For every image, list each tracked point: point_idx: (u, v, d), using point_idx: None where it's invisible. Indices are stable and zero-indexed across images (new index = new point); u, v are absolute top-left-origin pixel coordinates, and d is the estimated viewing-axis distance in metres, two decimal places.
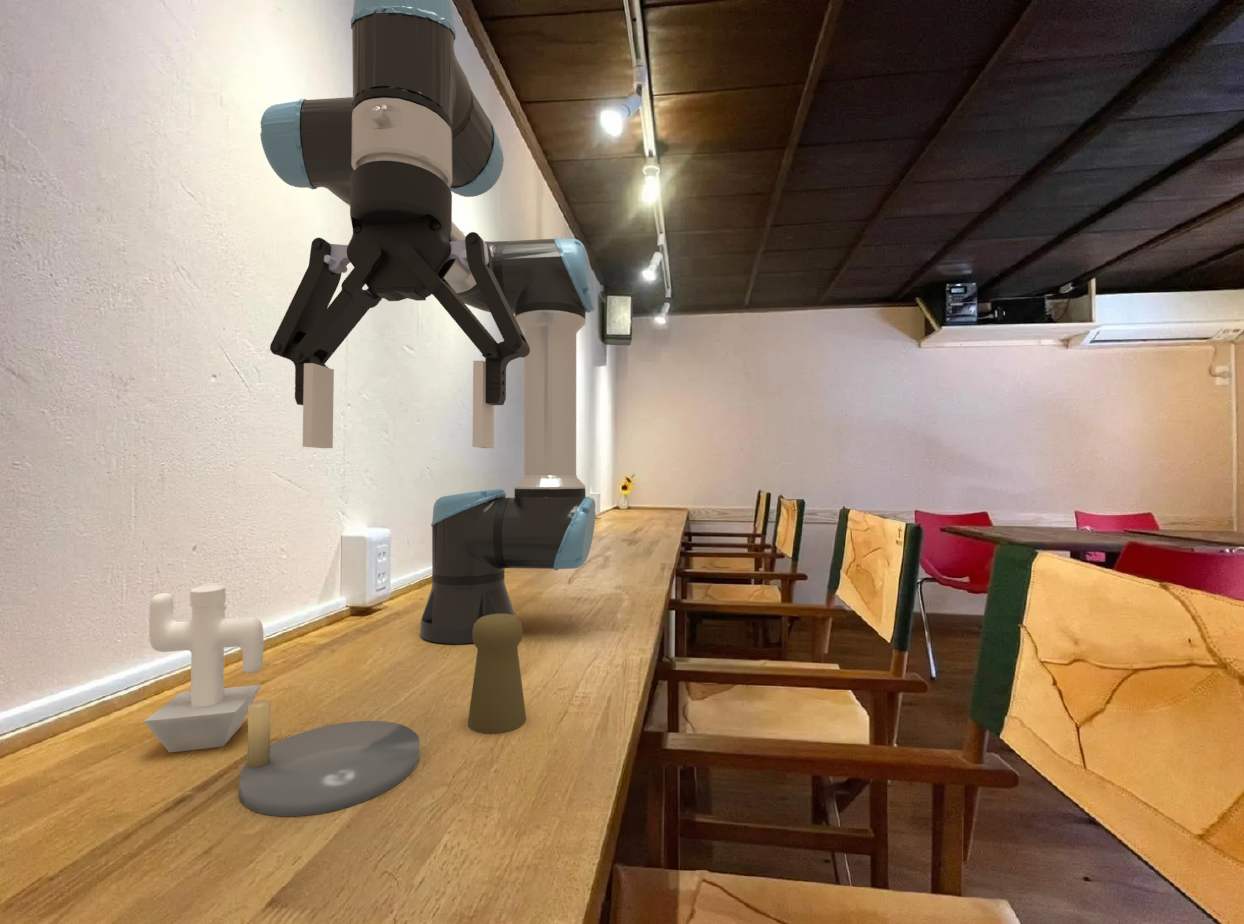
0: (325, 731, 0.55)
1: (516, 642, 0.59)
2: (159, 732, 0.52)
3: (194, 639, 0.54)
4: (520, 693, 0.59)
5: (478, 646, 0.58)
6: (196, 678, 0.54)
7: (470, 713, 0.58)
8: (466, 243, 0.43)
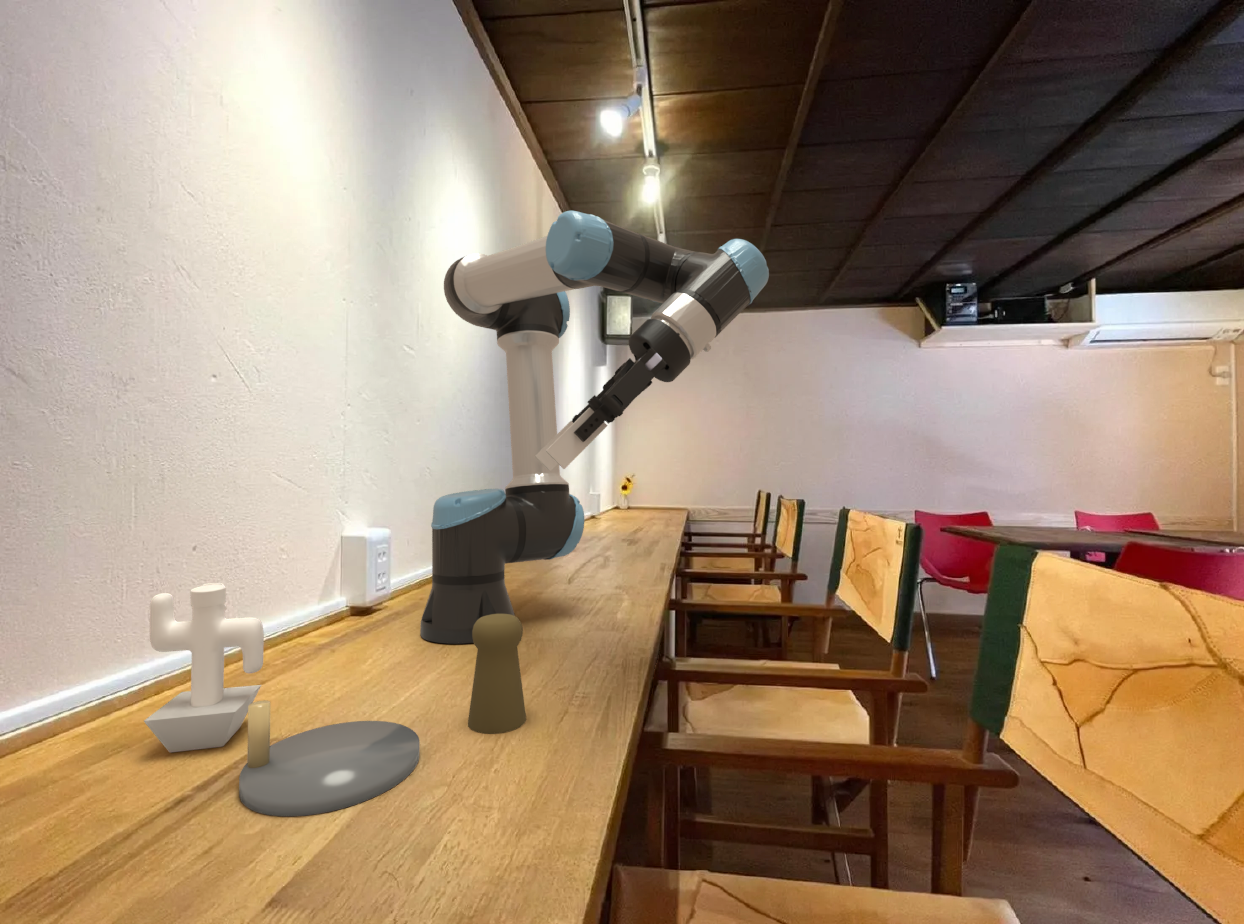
0: (325, 731, 0.55)
1: (516, 642, 0.59)
2: (159, 732, 0.52)
3: (194, 639, 0.54)
4: (520, 693, 0.59)
5: (478, 646, 0.58)
6: (196, 678, 0.54)
7: (470, 713, 0.58)
8: None
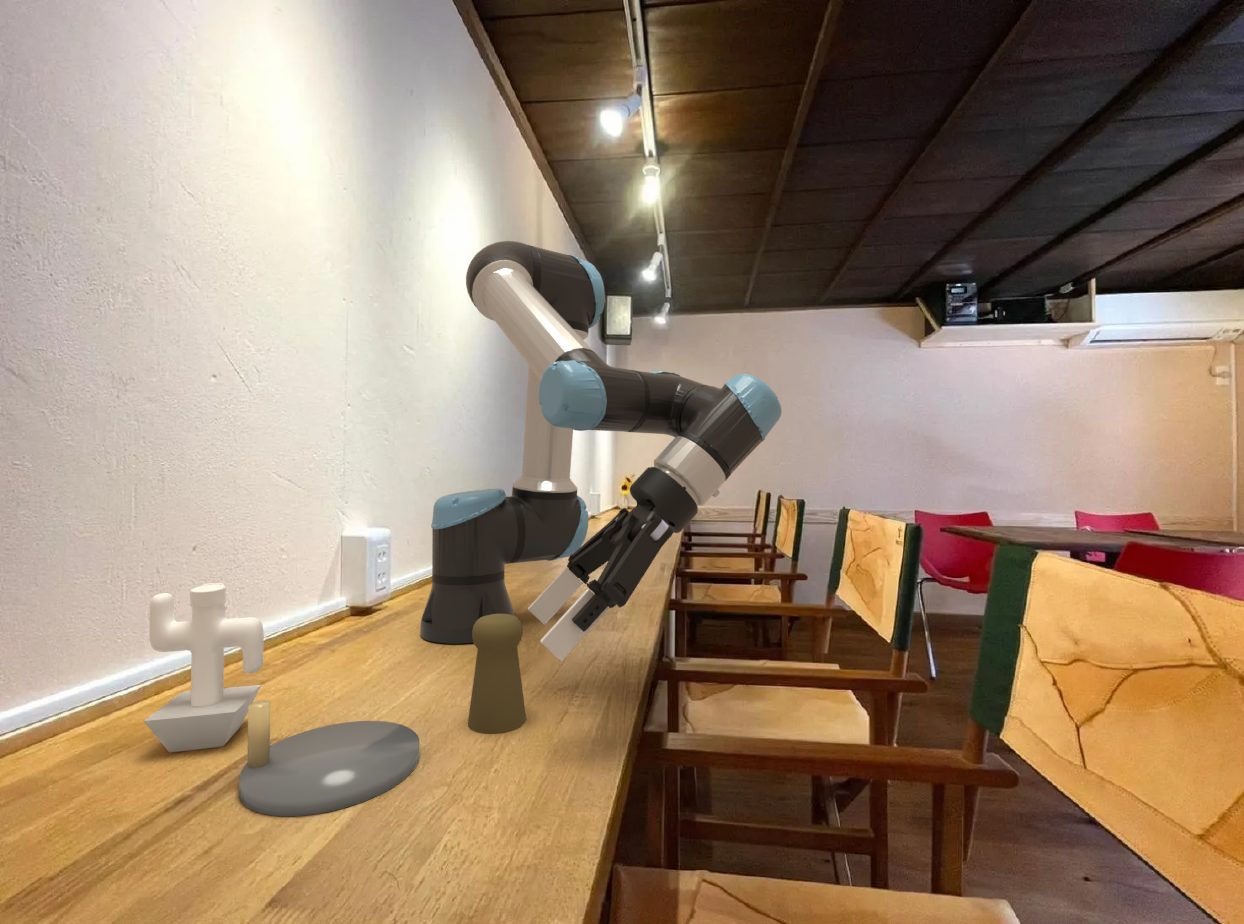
0: (325, 731, 0.55)
1: (516, 642, 0.59)
2: (159, 732, 0.52)
3: (194, 639, 0.54)
4: (520, 693, 0.59)
5: (478, 646, 0.58)
6: (196, 678, 0.54)
7: (470, 713, 0.58)
8: None
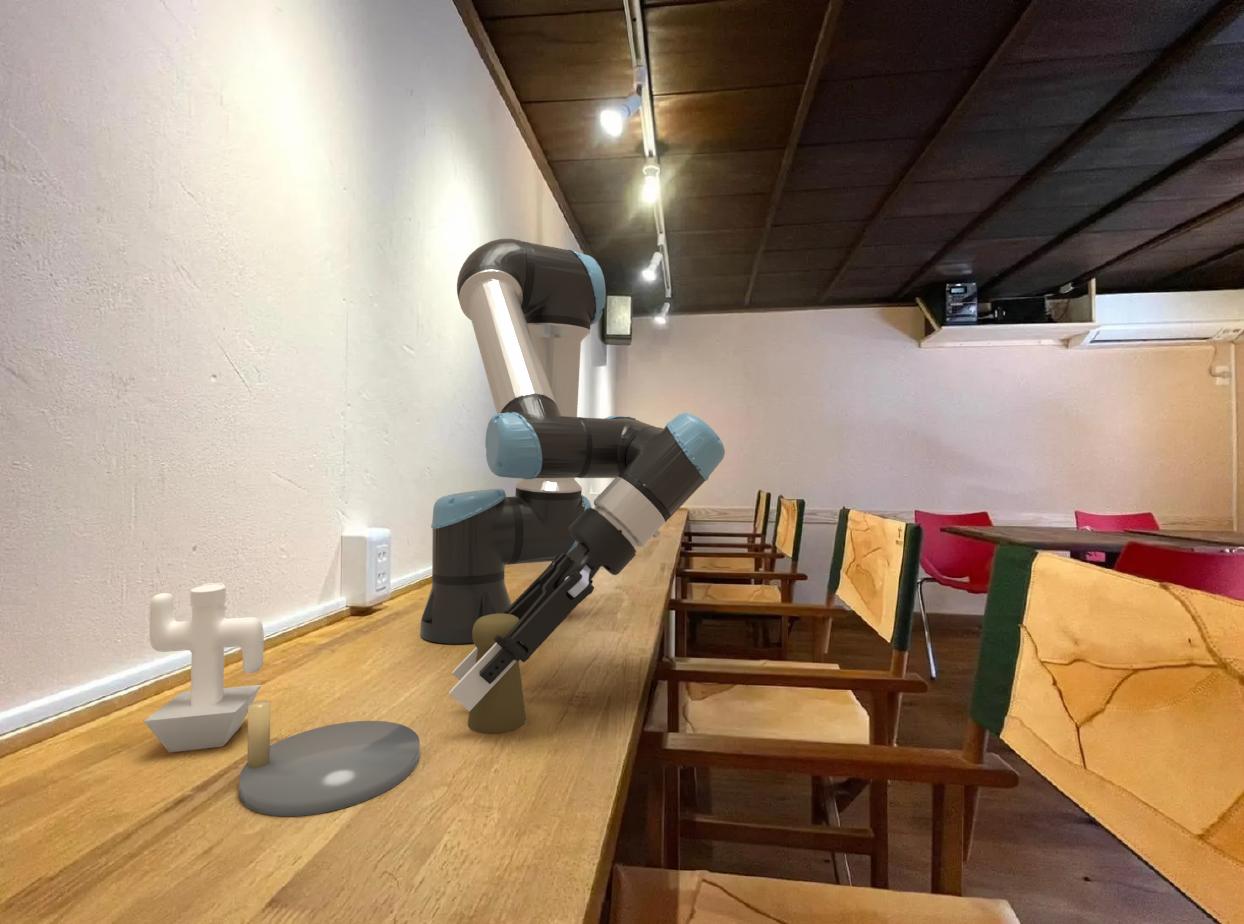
0: (325, 731, 0.55)
1: None
2: (159, 732, 0.52)
3: (194, 639, 0.54)
4: (520, 693, 0.59)
5: (478, 646, 0.58)
6: (196, 678, 0.54)
7: (470, 713, 0.58)
8: None
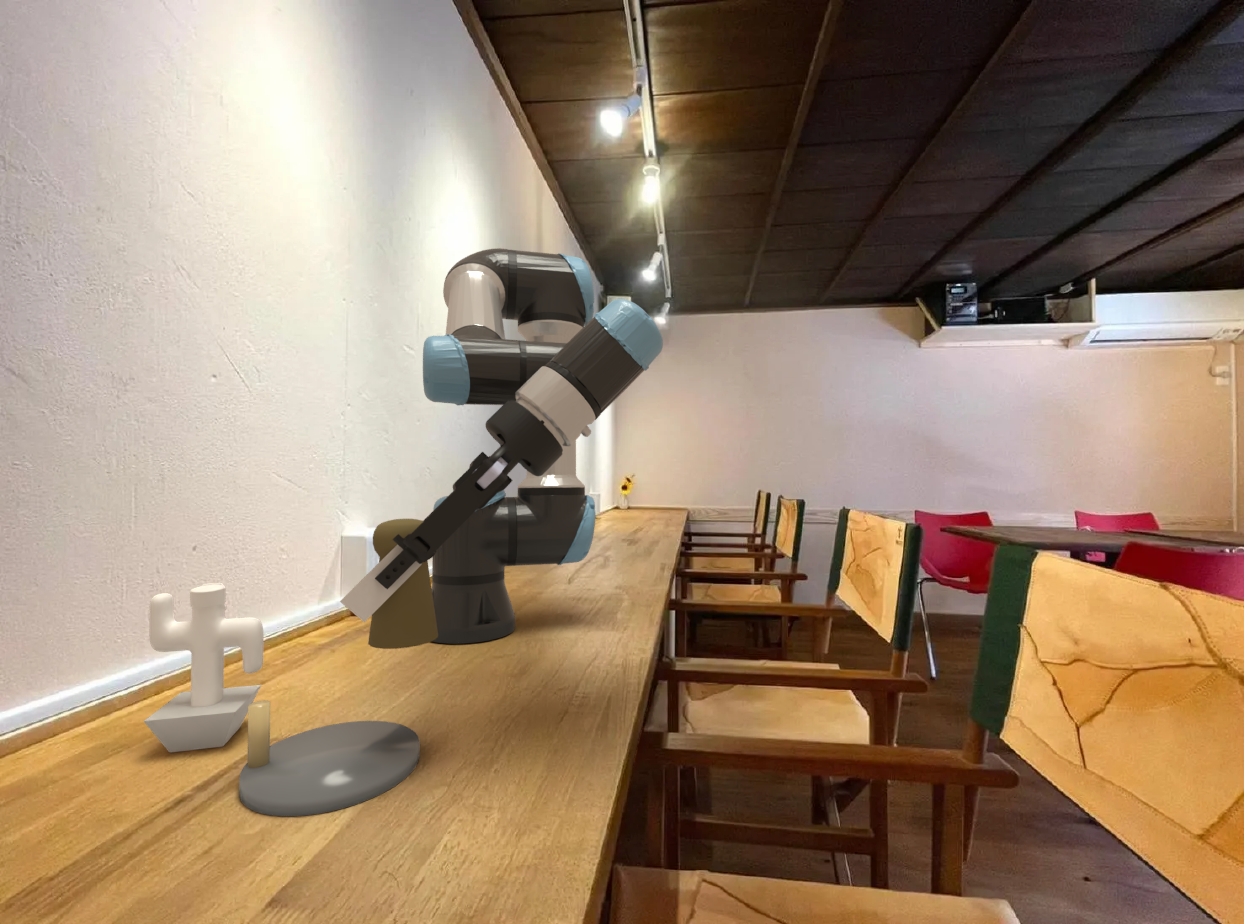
0: (325, 731, 0.55)
1: None
2: (159, 732, 0.52)
3: (194, 639, 0.54)
4: (429, 606, 0.52)
5: (378, 551, 0.51)
6: (196, 678, 0.54)
7: (370, 628, 0.51)
8: None
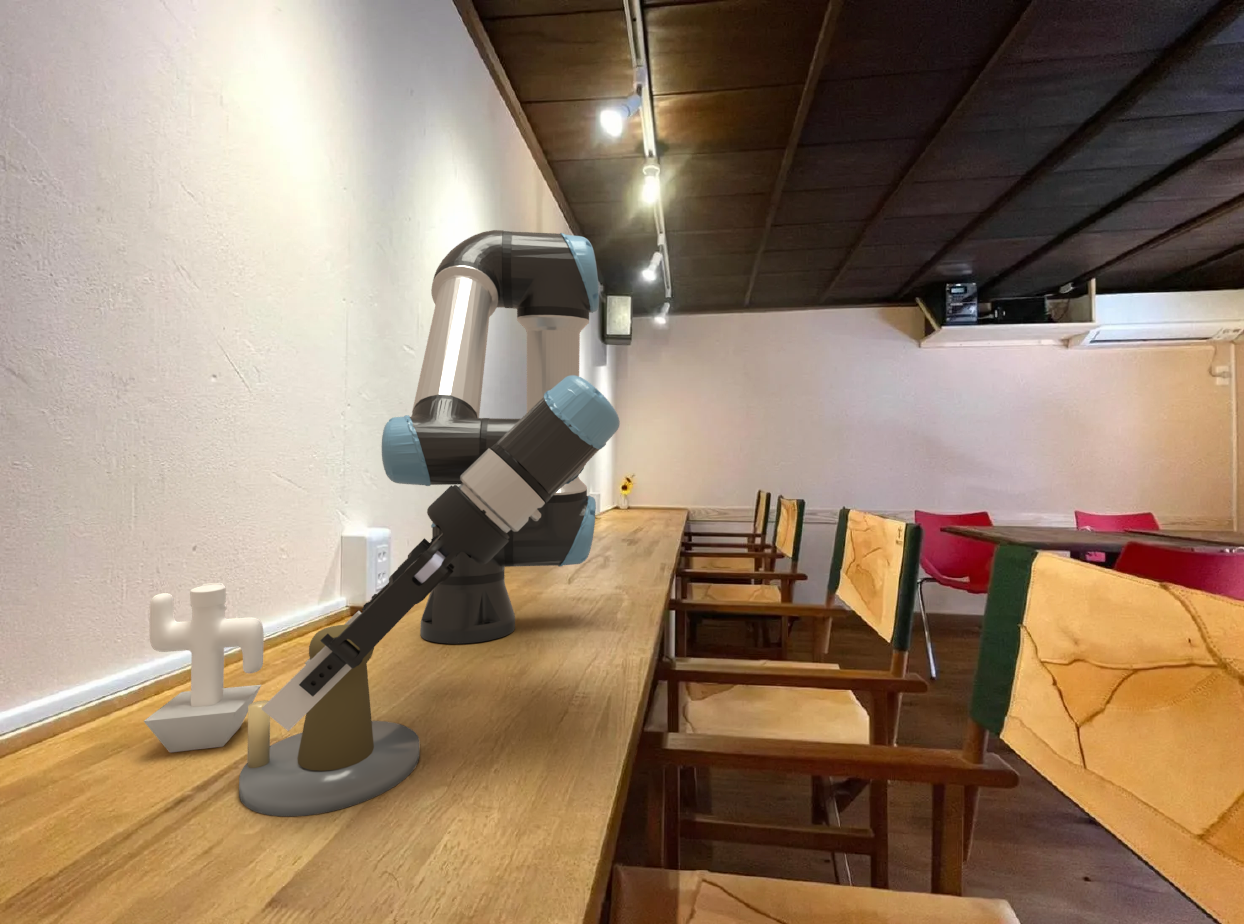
0: None
1: None
2: (159, 732, 0.52)
3: (194, 639, 0.54)
4: (364, 721, 0.49)
5: None
6: (196, 678, 0.54)
7: (300, 743, 0.49)
8: None
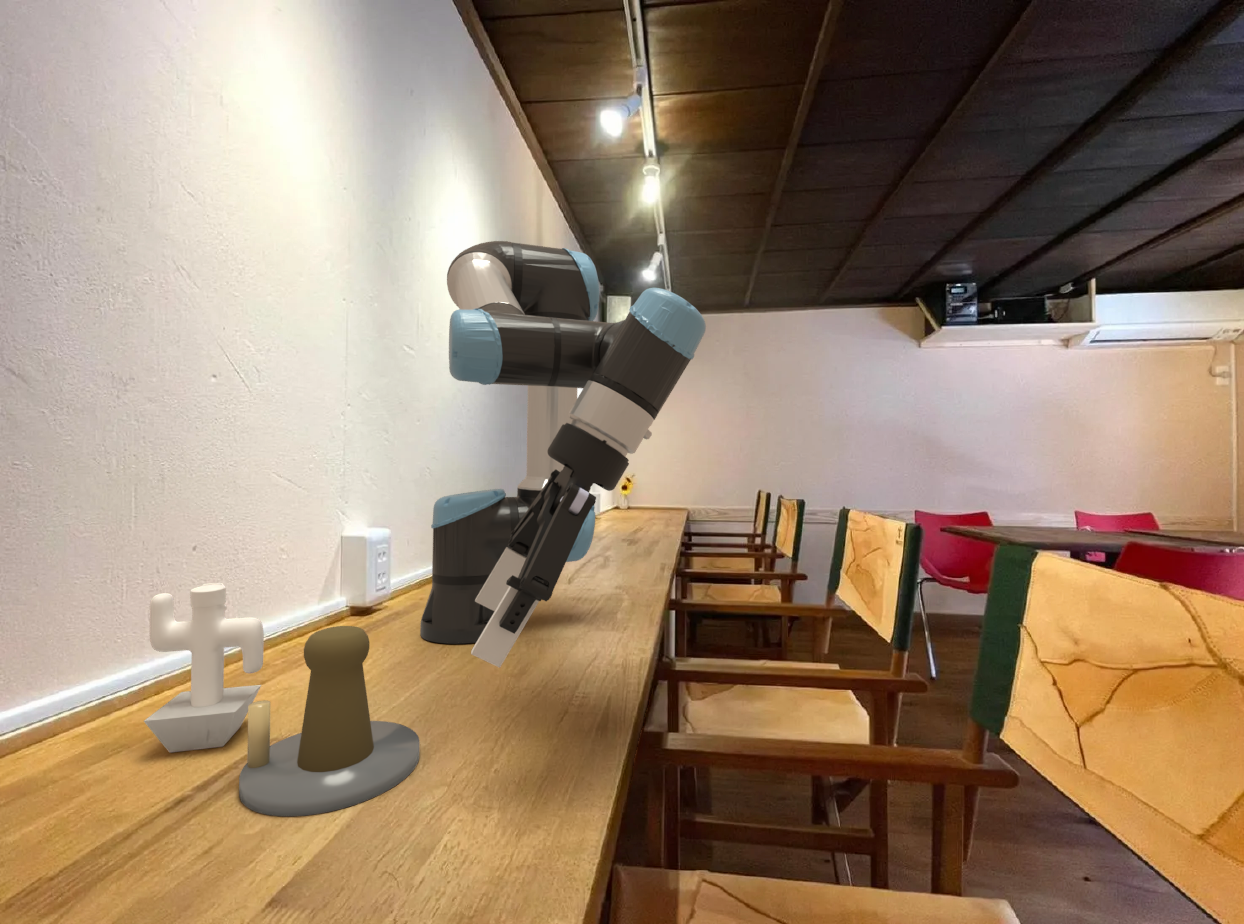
0: None
1: (356, 661, 0.49)
2: (159, 732, 0.52)
3: (194, 639, 0.54)
4: (362, 721, 0.49)
5: (308, 666, 0.48)
6: (196, 678, 0.54)
7: (299, 746, 0.49)
8: None
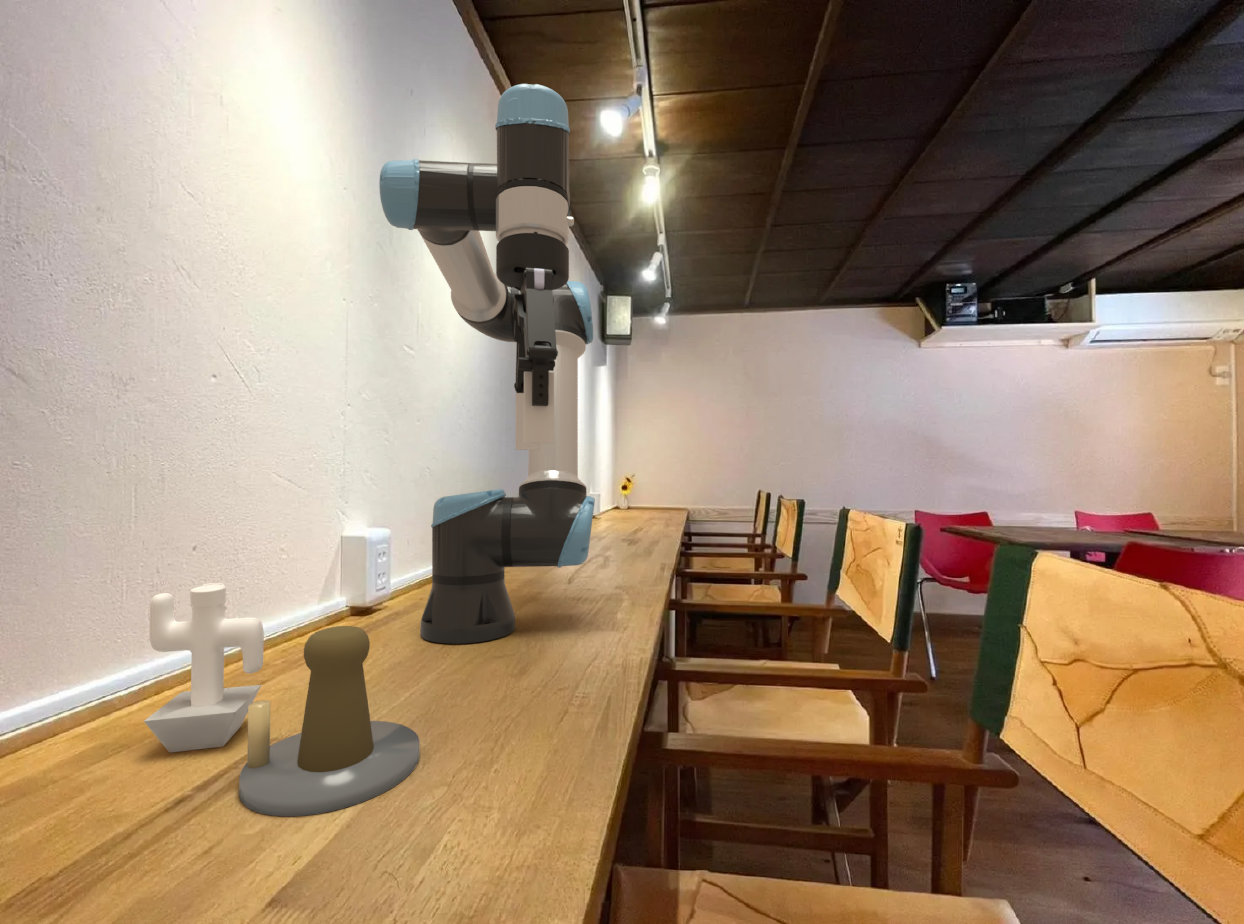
0: None
1: (356, 661, 0.49)
2: (159, 732, 0.52)
3: (194, 639, 0.54)
4: (362, 721, 0.49)
5: (308, 666, 0.48)
6: (196, 678, 0.54)
7: (299, 746, 0.49)
8: None
